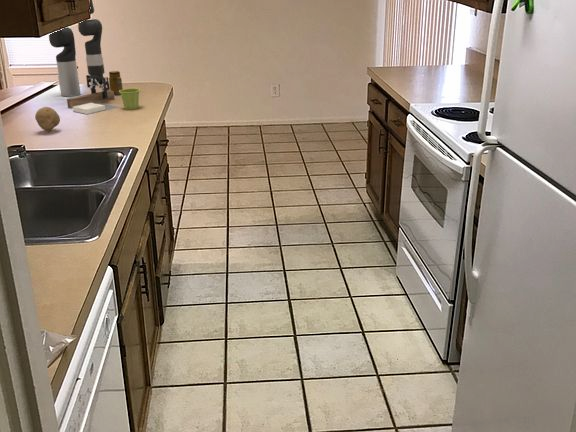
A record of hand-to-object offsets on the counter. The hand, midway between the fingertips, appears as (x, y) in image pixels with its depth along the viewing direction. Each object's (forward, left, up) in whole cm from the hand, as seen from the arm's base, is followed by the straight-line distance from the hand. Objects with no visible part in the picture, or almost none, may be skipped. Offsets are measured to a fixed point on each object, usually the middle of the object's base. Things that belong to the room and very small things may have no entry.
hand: (99, 97), depth 297 cm
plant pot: (+24, 0, -3) cm, 24 cm away
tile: (+12, -10, -1) cm, 16 cm away
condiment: (-6, +15, -3) cm, 16 cm away
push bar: (0, -5, -3) cm, 6 cm away
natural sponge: (+27, -45, -3) cm, 53 cm away
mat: (+11, -10, -2) cm, 15 cm away
